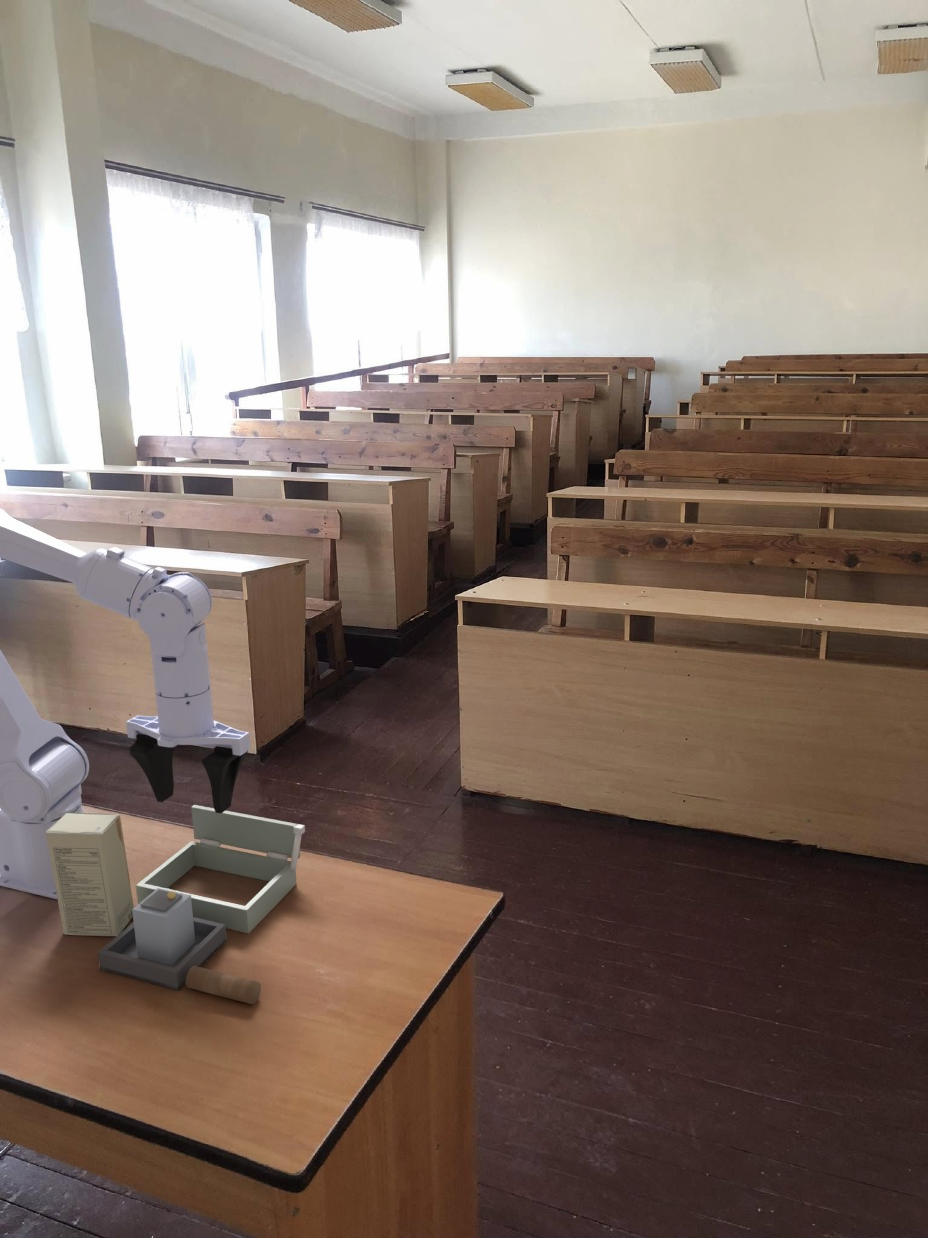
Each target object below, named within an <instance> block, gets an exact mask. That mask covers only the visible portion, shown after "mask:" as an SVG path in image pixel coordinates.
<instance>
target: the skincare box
mask: <svg viewBox="0 0 928 1238" xmlns="http://www.w3.org/2000/svg"><path fill="white" fill-rule="evenodd" d="M46 836H47V842H48V847H49V853H50V859H51V864H52V870H53V876H54V882H55V887H56V893H57V898H58V899H57V903H58V909H59V915H60V921H61V925H62V926H61V927H62V932H63V935H65V936H66V935H70V936H93V937H94V936H96V937H97V936H98V937H117V936H118V935H119V934H120V933H121V932H123V931H124V930H125V929H126V926H127V925H128V924H129V923H130V921H131V920H132V919H133V913H132V909H133V908H134V907H135V906H134V899H133V898H134V897H133V893H132V887H131V879H130V873H129V866H128V860H127V853H126V845H125V838H124V832H123V826H122V819H121V815H120V813H102V812H101V813H100V812H99V813H94V812H93V813H90V812H87V813H86V812H85V813H84V812H83V813H66V814H65V815H64V816H63V817H62V818H60V819H59V820H58V821H57V822H56V823H55V824H54V825H53V826H51V827H50V828H49V829H48V830H47V831H46Z"/></svg>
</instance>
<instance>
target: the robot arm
mask: <svg viewBox="0 0 928 1238" xmlns="http://www.w3.org/2000/svg"><path fill="white" fill-rule="evenodd" d="M125 554H126V551H125V550H124V549H121V548H118V547H116V546H113V547H111V548H109V549H107V548H102V547H101V548H97V549H95V550H93V551H91V552H89V553H88V552H85V551H83V550H81V549H79V548H76V547H75V546H73V545H70V544H69V543H66V542H64V541H62V540H61V539H57V538H56V537H54V536H51V535H49V534H47V533H45V532H43V531H41V530H39V529H37V528H35V527H32V526H31V525H29V524H27V523H24V522H22V521H20V520H17V519H15V518H14V517H12V516H11V515H10V514H8V513H7V511H5V510H4V509H3V508H1V507H0V559H4V560H6V561H9V562H12V563H15V564H18V565H20V566H24V567H27V568H30V569H33V570H35V571H38V572H41V573H44V574H47V575H50V576H53V577H55V578H59V579H61V580H65V581H67V582H70V583H71V584H73V585H74V588H75V591H76V593H77V595H78V597H79V598H81V599H82V600H84V601H87V602H90V603H92V604H95V605H97V606H100V607H101V608H104V609H107V610H109V611H112V612H114V613H116V614H119V615H121V616H123V617H126V618H128V619H132V620H134V621H135V622H137V624H138V626H139V627H140V629H141V631H143V632H144V633H143V634H145V635H146V636H147V638H148V640H149V644H150V655H151V663H152V671H153V672H152V673H153V683H154V692H155V700H156V703H155V704H156V711H157V716H146V715H138V714H137V715H135V716H134V717H131V718H130V719H128V720H127V721H126V722H125V723H126V733H127V738H128V739H129V738H130V739H136V740H135V743H133V744H132V745H130V746H129V748H128V749H129V750H128V751H129V754H130V756H131V757H132V758H133V759H134V760H135V761H136V762H137V764H138V765H139V766H140V768H141V769H142V771H143V773H144V774H145V777H146V778H147V781H148V782H149V784H150V787H151V789H152V791H153V794H154V796H155V800H156V801H157V803H164V802H165V801H167V800H168V799H169V798H171V797H172V796H173V795H174V789H175V787H174V786H175V785H174V784H175V783H174V771H173V770H174V768H173V763H174V760H173V759H174V758H173V757H174V748H175V747H176V746H190V745H191V746H196V747H201V748H209V749H213V751H214V752H211V753H210V754H208V755H207V756H205V757H204V758H202V760H201V763H202V765H203V767H204V769H205V771H206V774H207V776H208V780H209V783H210V788H211V795H212V805H213V808H214V809H215V812H216V813H223V812H224V811H227V810H228V809H229V808H230V807H231V806H232V802H233V800H232V799H233V794H234V789H235V784H236V780H237V777H238V774H239V771H240V768H241V766H242V763H243V761H244V760H245V758H246V756H247V754H248V751H249V750H250V749H251V740H250V739H251V736H250V732H248V731H243V730H240V729H236V728H234V727H231V726H229V725H226V724H224V723H221V722H219V721H216V720H215V719H214V711H213V700H212V687H211V674H210V663H209V653H208V652H209V651H208V642H207V630H206V623H205V622H203V621H204V620H205V619H206V618H207V617H208V616H209V614H210V613H211V610H212V606H213V599H212V598H213V597H212V594H211V592H210V590H209V588H208V586H207V585H206V584H205V582H204V581H202V579H200V578H198V577H196V576H194V575H193V574H192V573H191V572H188V571H187V572H186V571H180V572H175V573H173V574H168V573H167V569H166V568H163V567H161V566H157V567H155V568H154V567H151V566H148V565H147V564H143V563H141V562H139V561H136V560H134V559H132V558H129V557H127V556H125ZM89 771H90V762H89V758H88V755H87V754H86V751H85V750H84V749H83V748H82V747H81V745H80V744H78V743H76V741H73V740H72V739H71V738H70V737H69V735H68V734H67V733H66V731H65V730H64V729H63V727H62V726H61V725H60V724H58V723H56V722H53V721H49V720H46V719H43V718H41V716H40V715H39V713H38V711H37V710H36V707H35V706H34V704H33V703H32V701H31V700H30V697H29V696H28V694H27V693H26V691H25V689H24V688H23V685H22V684H21V682H20V681H19V679H18V677H17V675H16V674H15V672H14V671H13V668H12V667H11V665H10V664H9V662H8V660H7V658H6V656H5V655H4V653H3V651H2V650H1V649H0V887H4V888H8V889H11V890H17V891H21V892H26V893H30V894H34V895H38V896H41V897H46V898H50V899H55V900H58V898H57V893H56V887H55V882H54V876H53V870H52V864H51V859H50V853H49V847H48V842H47V836H46V831H47V830H48V829H49V828H50V827H51V826H53V825H54V824H55V823H56V822H57V821H58V820H59V819H60V818H62V817H63V816H64V815H65V814H66V813H84V810H83V804H82V796H81V795H82V794H83V793H82V791H83V790H82V785H81V784H82V783H84V781H85V780H86V778H87V777H88V775H89Z"/></svg>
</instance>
